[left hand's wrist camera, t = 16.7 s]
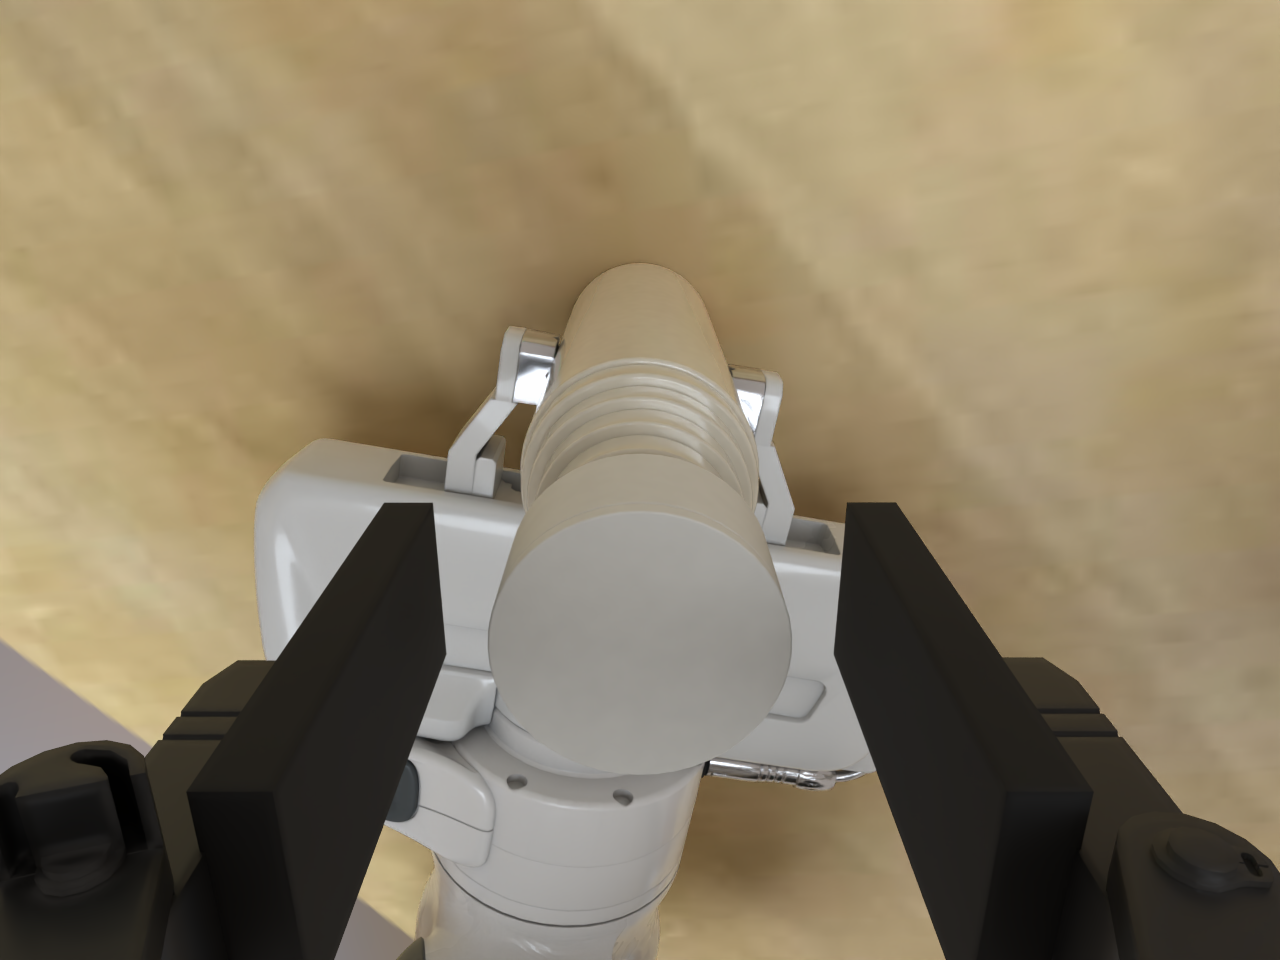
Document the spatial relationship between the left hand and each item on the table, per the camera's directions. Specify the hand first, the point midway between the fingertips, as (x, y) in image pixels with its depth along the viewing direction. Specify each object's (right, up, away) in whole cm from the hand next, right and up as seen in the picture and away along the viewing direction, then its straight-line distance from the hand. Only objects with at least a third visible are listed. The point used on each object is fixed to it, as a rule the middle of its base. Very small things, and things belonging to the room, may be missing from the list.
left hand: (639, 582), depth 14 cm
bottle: (0, +7, +17) cm, 19 cm away
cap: (0, -1, -2) cm, 2 cm away
